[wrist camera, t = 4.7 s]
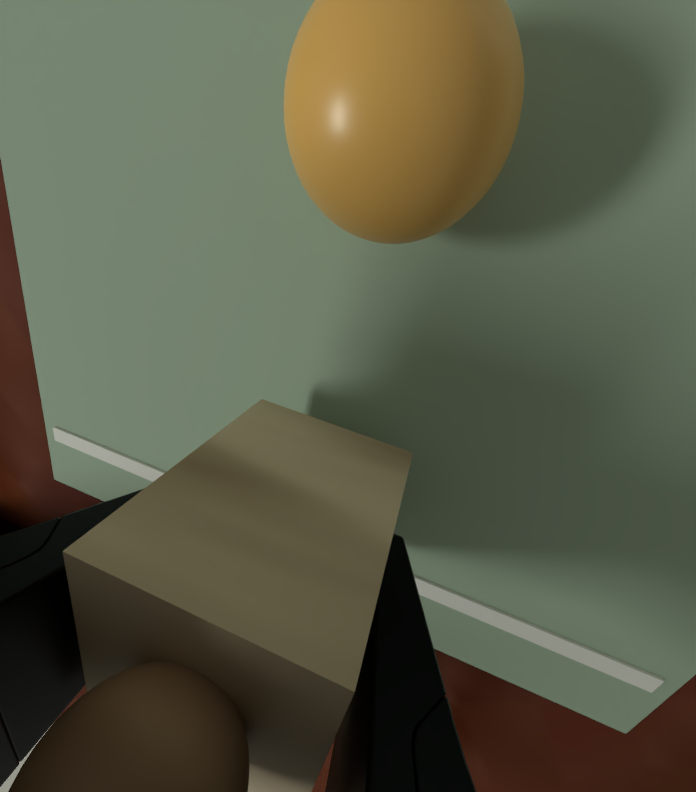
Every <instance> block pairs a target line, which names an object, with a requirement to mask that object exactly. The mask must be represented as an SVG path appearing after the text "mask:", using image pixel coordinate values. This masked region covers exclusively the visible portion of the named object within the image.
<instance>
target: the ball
mask: <svg viewBox="0 0 696 792" xmlns="http://www.w3.org/2000/svg"><path fill="white" fill-rule="evenodd" d="M523 94H524V61H523V54H522V48H521V43H520V38H519V33H518V30H517V26H516V23H515V20H514V17H513V14H512V12H511V10H510V8H509V5H508V3H507V1H506V0H315V1H314V2H313V4H312V5H311V7H310V9H309V10H308V12H307V14H306V16H305V18H304V20H303V22H302V24H301V26H300V28H299V30H298V33H297V36H296V38H295V41H294V44H293V47H292V50H291V54H290V58H289V62H288V66H287V72H286V78H285V88H284V125H285V133H286V139H287V144H288V148H289V152H290V156H291V158H292V161H293V164H294V167H295V170H296V173H297V175H298V177H299V179H300V181H301V183H302V185H303V187H304V189H305V190H306V192H307V194H308V195H309V197H310V198H311V200H312V201H313V202H314V203H315V205H316V206H317V207H318V208H319V209H320V211H321V212H322V213H323V214H324V215H325V216H326V217H328V218H329V219H330V220H331V221H332V222H333V223H334V224H336V225H337V226H339V227H340V228H341V229H343V230H344V231H346V232H348V233H350V234H352V235H354V236H357V237H359V238H362V239H365V240H368V241H372V242H377V243H382V244H402V243H410V242H415V241H419V240H423V239H425V238H428V237H430V236H433V235H436V234H438V233H439V232H441V231H443V230H445V229H447V228H449V227H450V226H452V225H453V224H454V223H456V222H457V221H459V220H460V219H461V218H463V217H464V216H465V215H466V214H467V213H468V212H469V211H470V210H471V209H473V208H474V207H475V206H476V204H477V203H478V202H479V201H480V200H481V199H482V198H483V196H484V195H485V194H486V193H487V191H488V190H489V189H490V187H491V186H492V184H493V183H494V181H495V180H496V178H497V177H498V175H499V173H500V171H501V169H502V168H503V166H504V164H505V162H506V160H507V157H508V155H509V152H510V150H511V148H512V145H513V142H514V139H515V135H516V132H517V129H518V125H519V120H520V115H521V109H522V104H523Z"/></svg>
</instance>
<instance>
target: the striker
mask: <svg viewBox="0 0 696 792" xmlns="http://www.w3.org/2000/svg"><path fill="white" fill-rule="evenodd" d="M412 455H413V453H412V452H409V451H407V450H404V449H401V448H398V447H395V446H393V445H390V444H387V443H384V442H381V441H379V440H376V439H373V438H370V437H367V436H365V435H362V434H359V433H356V432H353V431H351V430H348V429H345V428H342V427H339V426H336V425H334V424H331V423H328V422H325V421H322V420H320V419H317V418H314V417H311V416H308V415H306V414H303V413H300V412H297V411H294V410H292V409H289V408H286V407H283V406H280V405H278V404H275V403H272V402H269V401H266V400H264V399H261V400H260V401H258V402H257V403H256V404H254V405H253V406H252V407H251V408H249V409H248V410H247V411H245V412H244V413H243V414H241V415H240V416H239V417H237V418H236V419H235V420H234V421H232V422H231V423H230V424H228V425H227V426H226V427H224V428H223V429H222V430H220V431H219V432H218V433H217V434H215V435H214V436H213V437H211V438H210V439H209V440H207V441H206V442H205V443H203V444H202V445H201V446H200V447H198V448H197V449H196V450H194V451H193V452H192V453H190V454H189V455H188V456H186V457H185V458H184V459H183V460H181V461H180V462H179V463H177V464H176V465H175V466H173V467H172V468H171V469H169V470H168V471H167V472H166V473H164V474H163V475H162V476H160V477H159V478H158V479H156V480H155V481H154V482H152V483H151V484H150V485H149V486H147V487H146V488H145V489H143V490H142V491H141V492H139V493H138V494H137V495H135V496H134V497H133V498H132V499H130V500H129V501H128V502H126V503H125V504H124V505H122V506H121V507H120V508H118V509H117V510H116V511H115V512H113V513H112V514H111V515H109V516H108V517H107V518H105V519H104V520H103V521H101V522H100V523H99V524H98V525H96V526H95V527H94V528H92V529H91V530H90V531H88V532H87V533H86V534H84V535H83V536H82V537H81V538H79V539H78V540H77V541H75V542H74V543H73V544H71V545H70V546H69V547H67V548H66V549H65V550H64V551H63V557H64V562H65V568H66V574H67V580H68V586H69V591H70V597H71V603H72V609H73V614H74V620H75V626H76V632H77V637H78V643H79V649H80V655H81V661H82V666H83V672H84V678H85V684H86V689H87V693H86V694H84V695H83V696H82V697H81V698H79V699H78V700H77V701H76V702H75V703H74V704H73V705H72V706H71V707H69V708H68V709H67V710H66V711H65V712H64V713H63V714H62V715H61V716H60V717H59V719H58V720H57V721H56V722H55V723H54V724H53V725H52V726H51V727H50V729H49V730H48V731H47V732H46V733H45V735H44V736H43V737H42V739H41V740H40V741H39V742H38V744H37V745H36V746H35V748H34V749H33V751H32V752H31V754H30V755H29V757H28V758H27V760H26V761H25V763H24V764H23V766H22V767H21V769H20V771H19V773H18V775H17V777H16V778H15V780H14V782H13V784H12V786H11V788H10V789H9V792H311V791H312V789H313V786H314V784H315V782H316V779H317V777H318V775H319V773H320V770H321V768H322V766H323V763H324V761H325V759H326V757H327V754H328V752H329V750H330V748H331V745H332V743H333V741H334V738H335V736H336V734H337V732H338V729H339V727H340V725H341V722H342V720H343V718H344V716H345V713H346V711H347V709H348V707H349V704H350V702H351V700H352V697H353V695H354V693H355V689H356V685H357V681H358V677H359V673H360V669H361V665H362V661H363V656H364V652H365V648H366V644H367V640H368V636H369V632H370V628H371V624H372V620H373V615H374V611H375V607H376V603H377V599H378V595H379V591H380V587H381V583H382V578H383V574H384V570H385V566H386V562H387V558H388V554H389V550H390V546H391V542H392V537H393V533H394V529H395V525H396V521H397V517H398V513H399V509H400V505H401V500H402V496H403V492H404V488H405V484H406V480H407V476H408V472H409V468H410V464H411V459H412Z"/></svg>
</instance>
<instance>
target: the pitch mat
mask: <svg viewBox="0 0 696 792" xmlns="http://www.w3.org/2000/svg"><path fill="white" fill-rule="evenodd" d="M314 1H315V0H0V157H1V163H2V169H3V175H4V181H5V187H6V193H7V199H8V205H9V211H10V217H11V223H12V229H13V235H14V241H15V247H16V253H17V259H18V265H19V271H20V277H21V283H22V289H23V295H24V301H25V307H26V313H27V319H28V325H29V331H30V337H31V343H32V349H33V355H34V361H35V367H36V373H37V378H38V384H39V390H40V396H41V402H42V408H43V414H44V420H45V426H46V432H47V438H48V444H49V450H50V456H51V462H52V468H53V474H54V479H55V480H57V481H59V482H62V483H64V484H66V485H68V486H71V487H73V488H75V489H77V490H79V491H82V492H84V493H86V494H88V495H91V496H93V497H95V498H97V499H100V500H102V501H104V502H105V501H108V500H111V499H114V498H117V497H120V496H123V495H126V494H129V493H132V492H135V491H138V490H141V489H144V488H146V487H147V486H149V485H150V484H151V483H152V482H154V481H155V480H156V479H158V478H159V477H160V476H162V475H163V474H164V473H166V472H167V471H168V470H169V469H171V468H172V467H173V466H175V465H176V464H177V463H179V462H180V461H181V460H183V459H184V458H185V457H186V456H188V455H189V454H190V453H192V452H193V451H194V450H196V449H197V448H198V447H200V446H201V445H202V444H203V443H205V442H206V441H207V440H209V439H210V438H211V437H213V436H214V435H215V434H217V433H218V432H219V431H220V430H222V429H223V428H224V427H226V426H227V425H228V424H230V423H231V422H232V421H234V420H235V419H236V418H237V417H239V416H240V415H241V414H243V413H244V412H245V411H247V410H248V409H249V408H251V407H252V406H253V405H254V404H256V403H257V402H258V401H260V400H261V399H264V400H266V401H269V402H272V403H275V404H278V405H280V406H283V407H286V408H289V409H292V410H294V411H297V412H300V413H303V414H306V415H308V416H311V417H314V418H317V419H320V420H322V421H325V422H328V423H331V424H334V425H336V426H339V427H342V428H345V429H348V430H351V431H353V432H356V433H359V434H362V435H365V436H367V437H370V438H373V439H376V440H379V441H381V442H384V443H387V444H390V445H393V446H395V447H398V448H401V449H404V450H407V451H409V452H412V453H413V455H412V459H411V464H410V468H409V472H408V476H407V480H406V484H405V488H404V492H403V496H402V500H401V505H400V509H399V513H398V517H397V521H396V525H395V529H394V534H397V535H399V536H401V537H403V539H404V542H405V545H406V549H407V552H408V556H409V560H410V563H411V567H412V571H413V574H414V578H415V582H416V585H417V589H418V593H419V596H420V600H421V604H422V607H423V611H424V615H425V618H426V622H427V626H428V629H429V633H430V636H431V640H432V644H433V647H434V649H436V650H439V651H441V652H443V653H445V654H448V655H450V656H452V657H454V658H457V659H459V660H461V661H463V662H466V663H468V664H470V665H472V666H475V667H477V668H479V669H481V670H484V671H486V672H488V673H490V674H493V675H495V676H497V677H499V678H502V679H504V680H506V681H508V682H511V683H513V684H515V685H517V686H520V687H522V688H524V689H526V690H529V691H531V692H533V693H535V694H537V695H540V696H542V697H544V698H546V699H549V700H551V701H553V702H555V703H558V704H560V705H562V706H564V707H567V708H569V709H571V710H573V711H576V712H578V713H580V714H582V715H585V716H587V717H589V718H591V719H594V720H596V721H598V722H600V723H603V724H605V725H607V726H609V727H612V728H614V729H616V730H618V731H621V732H623V733H625V734H626V733H627V732H629V731H630V730H631V729H632V728H633V727H634V726H636V725H637V724H638V723H639V722H640V721H642V720H643V719H644V718H645V717H646V716H647V715H649V714H650V713H651V712H652V711H653V710H654V709H656V708H657V707H658V706H659V705H660V704H662V703H663V702H664V701H665V700H666V699H667V698H669V697H670V696H671V695H672V694H673V693H674V692H676V691H677V690H678V689H679V688H680V687H682V686H683V685H684V684H685V683H686V682H687V681H689V680H690V679H691V678H692V677H693V676H694V675H696V0H506V1H507V3H508V5H509V8H510V10H511V12H512V14H513V17H514V20H515V23H516V26H517V30H518V33H519V38H520V43H521V48H522V54H523V61H524V94H523V104H522V109H521V115H520V120H519V125H518V129H517V132H516V135H515V139H514V142H513V145H512V148H511V150H510V152H509V155H508V157H507V160H506V162H505V164H504V166H503V168H502V169H501V171H500V173H499V175H498V177H497V178H496V180H495V181H494V183H493V184H492V186H491V187H490V189H489V190H488V191H487V193H486V194H485V195H484V196H483V198H482V199H481V200H480V201H479V202H478V203H477V204H476V206H475V207H474V208H473V209H471V210H470V211H469V212H468V213H467V214H466V215H465V216H464V217H463V218H461V219H460V220H459V221H457V222H456V223H454V224H453V225H452V226H450V227H449V228H447V229H445V230H443V231H441V232H439V233H438V234H436V235H433V236H430V237H428V238H425V239H423V240H419V241H415V242H410V243H402V244H382V243H377V242H372V241H368V240H365V239H362V238H359V237H357V236H354V235H352V234H350V233H348V232H346V231H344V230H343V229H341V228H340V227H339V226H337V225H336V224H334V223H333V222H332V221H331V220H330V219H329V218H328V217H326V216H325V215H324V214H323V213H322V212H321V211H320V209H319V208H318V207H317V206H316V205H315V203H314V202H313V201H312V200H311V198H310V197H309V195H308V194H307V192H306V190H305V189H304V187H303V185H302V183H301V181H300V179H299V177H298V175H297V173H296V170H295V167H294V164H293V161H292V158H291V156H290V152H289V148H288V144H287V139H286V133H285V125H284V88H285V78H286V72H287V66H288V62H289V58H290V54H291V50H292V47H293V44H294V41H295V38H296V36H297V33H298V30H299V28H300V26H301V24H302V22H303V20H304V18H305V16H306V14H307V12H308V10H309V9H310V7H311V5H312V4H313V2H314Z"/></svg>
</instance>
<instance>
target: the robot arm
mask: <svg viewBox="0 0 696 792" xmlns="http://www.w3.org/2000/svg"><path fill="white" fill-rule="evenodd" d="M144 489H145V488H144ZM142 490H143V489H141V490H138V491H135V492H132V493H129V494H126V495H123V496H120V497H117V498H114V499H111V500H108V501H105V502H102V503H99V504H96V505H93V506H90V507H87V508H84V509H81V510H79V511H76V512H73V513H70V514H67V515H64V516H62V517H61V519H60V518H59V517H57V518H54V519H51V520H48V521H45V522H42V523H39V524H36V525H33V526H30V527H27V528H24V529H21V530H19V529H17V528H15V527H12V526H10V525H8V524H6V523H4V522H2V521H0V787H1V785H2V784H3V783H4V782H5V781H6V779H7V778H8V777H9V776H10V775H11V773H12V772H13V771H14V770H15V769H16V767H17V766H18V765H19V762H20V761H22V760H23V759H24V757H25V756H26V755H27V754H28V752H29V751H30V750H31V749H32V748H33V746H34V745H35V744H36V743H37V742H38V740H39V739H40V738H41V737H42V736H43V734H44V733H45V732H46V731H47V730H48V728H49V727H50V726H51V725H52V724H53V722H54V721H55V720H56V719H57V718H58V716H59V715H60V714H61V713H62V712H63V710H64V709H65V708H66V707H67V706H68V704H69V703H70V702H71V701H72V700H73V698H74V697H75V696H76V695H77V694H78V692H79V691H80V690H81V689H82V688H83V686H84V685H85V678H84V672H83V666H82V661H81V655H80V649H79V643H78V637H77V632H76V626H75V620H74V614H73V609H72V603H71V597H70V591H69V586H68V580H67V574H66V568H65V562H64V557H63V551H64V550H65V549H66V548H67V547H69V546H70V545H71V544H73V543H74V542H75V541H77V540H78V539H79V538H81V537H82V536H83V535H84V534H86V533H87V532H88V531H90V530H91V529H92V528H94V527H95V526H96V525H98V524H99V523H100V522H101V521H103V520H104V519H105V518H107V517H108V516H109V515H111V514H112V513H113V512H115V511H116V510H117V509H118V508H120V507H121V506H122V505H124V504H125V503H126V502H128V501H129V500H130V499H132V498H133V497H134V496H135V495H137V494H138V493H139V492H141V491H142ZM445 695H446V691H445V688H444V684H443V680H442V677H441V673H440V669H439V666H438V662H437V658H436V655H435V651H434V647H433V644H432V640H431V636H430V633H429V629H428V626H427V622H426V618H425V615H424V611H423V607H422V604H421V600H420V596H419V593H418V589H417V585H416V582H415V578H414V574H413V571H412V567H411V563H410V560H409V556H408V552H407V549H406V545H405V542H404V539H403V537H401V536H399V535H397V534H394V533H393V537H392V542H391V546H390V550H389V554H388V558H387V562H386V566H385V570H384V574H383V578H382V583H381V587H380V591H379V595H378V599H377V603H376V607H375V611H374V615H373V620H372V624H371V628H370V632H369V636H368V640H367V644H366V648H365V652H364V656H363V661H362V665H361V669H360V673H359V677H358V681H357V685H356V689H355V693H354V695H353V697H352V700H351V702H350V704H349V707H348V709H347V711H346V713H345V716H344V718H343V720H342V722H341V725H340V727H339V729H338V732H337V734H336V736H335V741H334V747H333V752H332V758H331V763H330V769H329V774H328V780H327V785H326V791H325V792H476V789H475V786H474V784H473V781H472V778H471V775H470V772H469V769H468V766H467V763H466V760H465V757H464V754H463V750H462V747H461V744H460V740H459V737H458V734H457V730H456V727H455V724H454V720H453V716H452V713H451V709H450V705H449V702H448V699H447V697H445Z"/></svg>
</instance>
